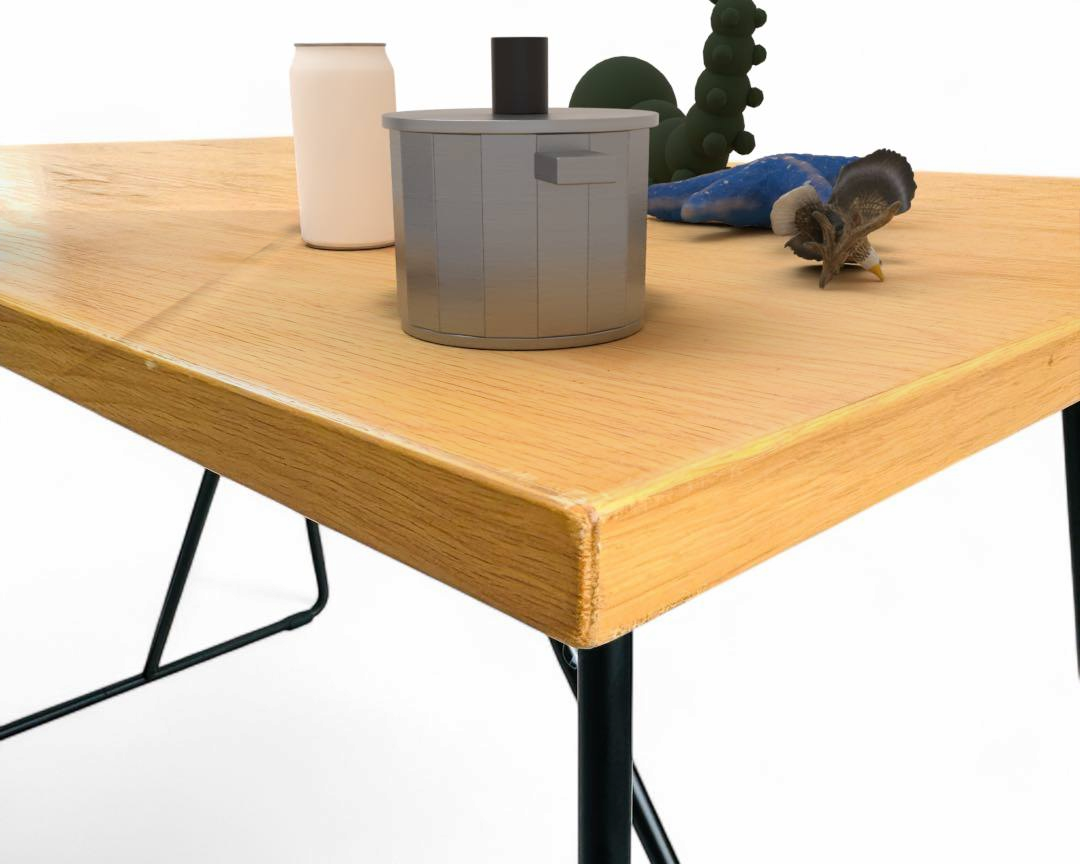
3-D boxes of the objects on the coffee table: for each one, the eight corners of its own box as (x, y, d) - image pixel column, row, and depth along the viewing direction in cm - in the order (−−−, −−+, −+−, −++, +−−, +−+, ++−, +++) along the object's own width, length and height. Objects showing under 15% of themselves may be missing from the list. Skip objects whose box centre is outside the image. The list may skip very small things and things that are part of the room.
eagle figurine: (940, 272, 60) (946, 216, 67) (869, 148, 58) (883, 104, 65) (805, 342, 64) (824, 282, 71) (734, 228, 62) (762, 178, 69)
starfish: (694, 204, 97) (696, 139, 95) (925, 220, 88) (933, 148, 86) (570, 232, 83) (570, 156, 81) (831, 254, 73) (838, 168, 71)
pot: (450, 374, 46) (443, 140, 43) (367, 298, 61) (357, 119, 57) (712, 352, 49) (722, 133, 46) (574, 285, 64) (575, 114, 61)
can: (338, 253, 74) (324, 42, 70) (282, 243, 79) (266, 43, 74) (422, 243, 78) (414, 42, 74) (364, 233, 83) (354, 43, 78)
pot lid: (418, 153, 45) (413, 35, 44) (359, 135, 56) (353, 39, 54) (705, 145, 49) (710, 34, 47) (599, 129, 59) (600, 38, 58)
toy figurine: (776, 228, 96) (619, 174, 116) (808, -36, 88) (633, -46, 108) (676, 236, 92) (531, 178, 112) (699, -39, 84) (538, -49, 104)
